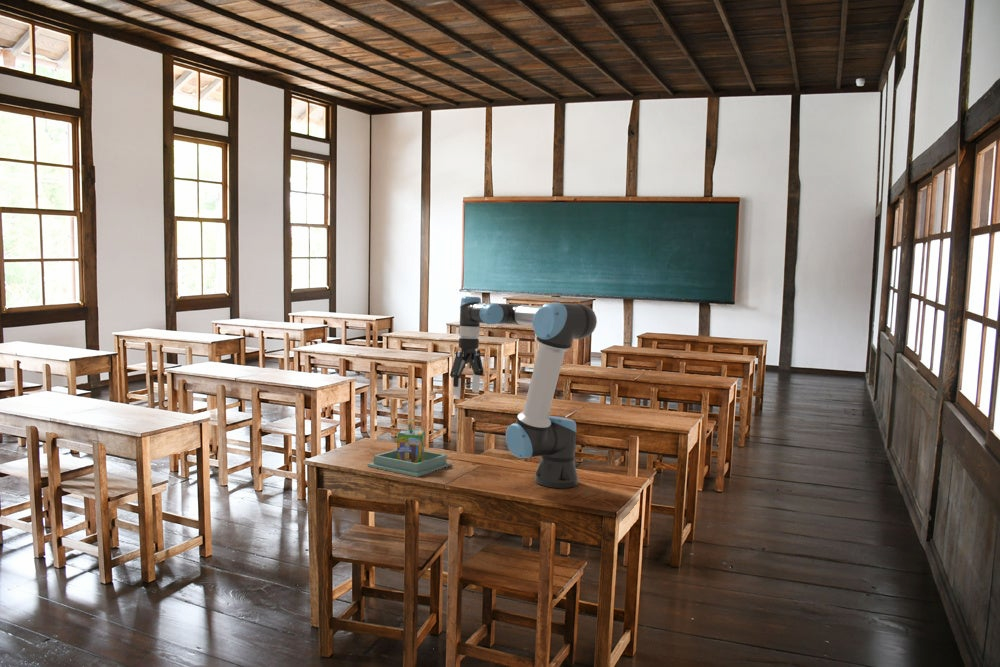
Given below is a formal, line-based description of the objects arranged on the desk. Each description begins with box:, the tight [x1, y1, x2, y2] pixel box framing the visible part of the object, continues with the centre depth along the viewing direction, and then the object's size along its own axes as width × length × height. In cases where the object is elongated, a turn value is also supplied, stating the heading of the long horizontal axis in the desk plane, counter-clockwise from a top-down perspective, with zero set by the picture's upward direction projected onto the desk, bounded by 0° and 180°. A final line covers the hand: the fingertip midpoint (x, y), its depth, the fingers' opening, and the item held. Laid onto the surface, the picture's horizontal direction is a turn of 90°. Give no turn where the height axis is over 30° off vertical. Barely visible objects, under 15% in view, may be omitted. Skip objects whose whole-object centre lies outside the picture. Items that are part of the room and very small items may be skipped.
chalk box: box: [396, 422, 426, 463], centre depth 274 cm, size 9×9×15 cm
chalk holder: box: [367, 449, 453, 478], centre depth 275 cm, size 22×22×4 cm
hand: (466, 393), depth 282 cm, fingers open, 13 cm apart
